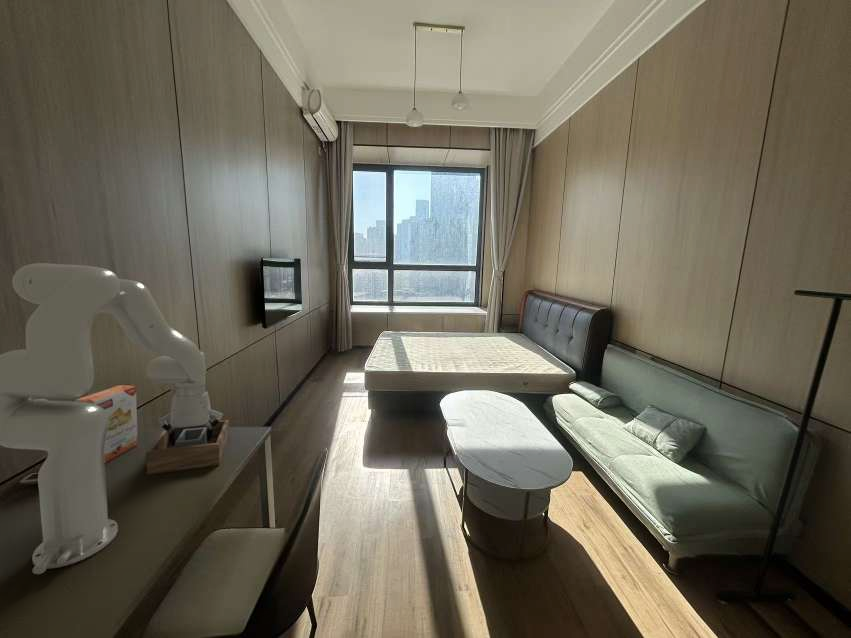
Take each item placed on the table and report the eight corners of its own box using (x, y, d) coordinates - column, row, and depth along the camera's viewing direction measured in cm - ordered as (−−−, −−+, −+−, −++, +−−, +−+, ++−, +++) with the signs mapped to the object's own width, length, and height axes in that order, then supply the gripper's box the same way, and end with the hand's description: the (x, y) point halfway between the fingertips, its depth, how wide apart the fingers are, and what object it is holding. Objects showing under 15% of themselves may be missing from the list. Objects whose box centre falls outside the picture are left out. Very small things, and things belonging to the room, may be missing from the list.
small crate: (201, 457, 104) (200, 439, 103) (175, 460, 101) (175, 442, 101) (207, 443, 112) (207, 427, 111) (184, 446, 109) (183, 429, 109)
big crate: (219, 465, 102) (219, 444, 101) (147, 475, 95) (146, 452, 94) (228, 438, 119) (228, 419, 118) (168, 445, 112) (167, 425, 111)
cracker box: (97, 469, 96) (93, 400, 94) (77, 467, 96) (72, 399, 94) (139, 445, 110) (137, 385, 108) (121, 444, 110) (119, 384, 108)
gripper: (152, 396, 97) (154, 450, 99) (220, 391, 104) (221, 443, 106) (161, 387, 104) (163, 439, 106) (224, 384, 111) (225, 432, 113)
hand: (192, 441), depth 106 cm, fingers open, 9 cm apart
